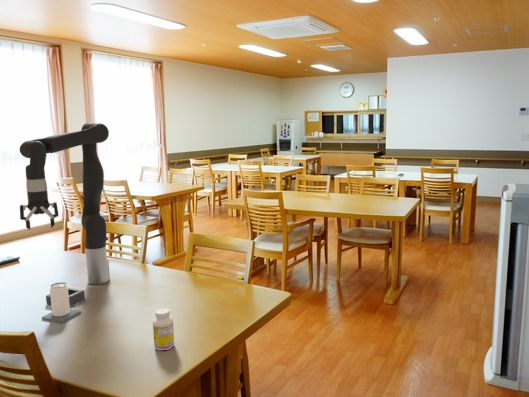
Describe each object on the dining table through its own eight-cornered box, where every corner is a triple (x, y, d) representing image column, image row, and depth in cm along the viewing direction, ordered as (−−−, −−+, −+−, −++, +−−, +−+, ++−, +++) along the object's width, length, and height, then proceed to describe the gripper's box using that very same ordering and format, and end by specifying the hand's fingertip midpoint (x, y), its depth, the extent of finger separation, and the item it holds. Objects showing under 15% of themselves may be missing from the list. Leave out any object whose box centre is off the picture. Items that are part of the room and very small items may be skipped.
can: (63, 317, 179) (60, 288, 177) (48, 316, 180) (45, 287, 178) (73, 311, 185) (70, 282, 183) (59, 310, 186) (56, 281, 184)
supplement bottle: (156, 342, 159) (153, 307, 157) (175, 341, 160) (173, 306, 158) (153, 352, 153) (150, 315, 150) (173, 351, 153) (171, 314, 151)
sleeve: (66, 295, 204) (65, 287, 204) (84, 299, 200) (84, 290, 200) (46, 304, 195) (45, 295, 194) (65, 308, 191) (65, 299, 190)
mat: (62, 309, 189) (61, 307, 189) (81, 313, 185) (80, 310, 185) (42, 319, 180) (41, 317, 180) (61, 323, 176) (61, 320, 176)
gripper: (16, 192, 185) (20, 231, 187) (55, 189, 190) (59, 228, 193) (18, 189, 191) (22, 228, 194) (56, 187, 197) (59, 224, 199)
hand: (40, 228), depth 193 cm, fingers open, 8 cm apart
